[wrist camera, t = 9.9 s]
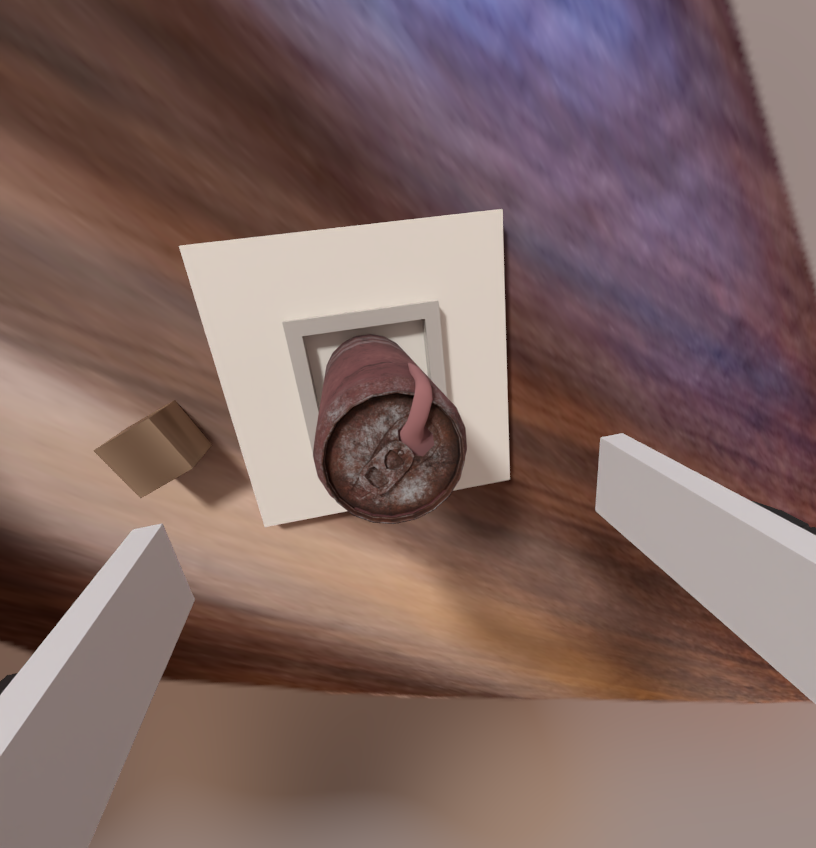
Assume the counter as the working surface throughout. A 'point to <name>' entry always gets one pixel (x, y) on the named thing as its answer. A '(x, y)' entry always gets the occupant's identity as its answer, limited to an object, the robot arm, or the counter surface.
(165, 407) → the walnut block
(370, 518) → the can
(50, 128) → the counter surface
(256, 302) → the board
